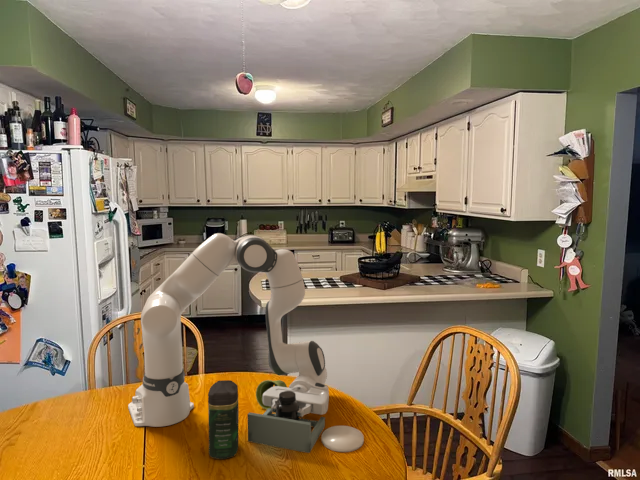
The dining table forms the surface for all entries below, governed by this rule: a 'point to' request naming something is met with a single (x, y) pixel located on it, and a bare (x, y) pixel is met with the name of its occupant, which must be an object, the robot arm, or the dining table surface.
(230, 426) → the coffee jar
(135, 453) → the dining table surface
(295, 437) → the cold frame
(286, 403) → the supplement bottle
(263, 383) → the plant pot
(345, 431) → the white round glossy part
